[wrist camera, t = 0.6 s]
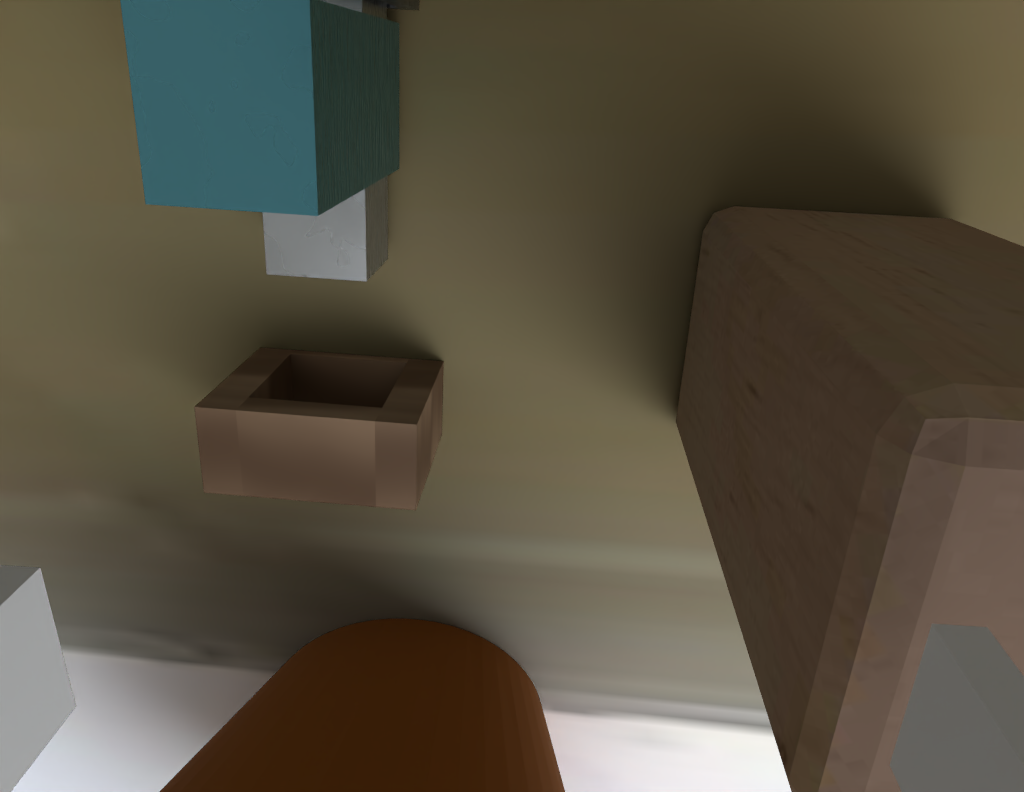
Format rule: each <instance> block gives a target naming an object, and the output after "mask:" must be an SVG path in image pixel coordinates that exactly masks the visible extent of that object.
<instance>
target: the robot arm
mask: <svg viewBox="0 0 1024 792" xmlns="http://www.w3.org/2000/svg"><path fill="white" fill-rule="evenodd" d="M75 707H76V704H75V700H74V696H73V692H72V689H71V685H70V681H69V677H68V673H67V669H66V665H65V661H64V658H63V654H62V650H61V646H60V642H59V638H58V634H57V630H56V627H55V623H54V619H53V615H52V611H51V607H50V603H49V599H48V596H47V592H46V588H45V584H44V580H43V576H42V572H41V568H40V567H25V566H9V565H0V792H11V791H12V790H13V788H14V787H15V786H16V784H17V783H18V782H19V780H20V779H21V778H22V777H23V775H24V774H25V773H26V771H27V770H28V769H29V767H30V766H31V765H32V763H33V762H34V761H35V760H36V758H37V757H38V756H39V754H40V753H41V752H42V750H43V749H44V748H45V746H46V745H47V744H48V742H49V741H50V740H51V739H52V737H53V736H54V735H55V733H56V732H57V731H58V729H59V728H60V727H61V725H62V724H63V723H64V722H65V720H66V719H67V718H68V716H69V715H70V714H71V712H72V711H73V710H74V708H75ZM890 767H891V769H892V771H893V774H894V776H895V778H896V780H897V782H898V785H899V787H900V789H901V791H902V792H1024V676H1023V675H1022V673H1021V672H1020V671H1019V669H1018V668H1017V667H1016V665H1015V664H1014V663H1013V661H1012V660H1011V659H1010V657H1009V656H1008V655H1007V653H1006V652H1005V650H1004V649H1003V648H1002V646H1001V645H1000V644H999V642H998V641H997V640H996V638H995V637H994V636H993V634H992V633H991V632H990V630H989V629H988V628H987V627H977V626H961V625H945V624H932V625H931V628H930V632H929V635H928V638H927V642H926V645H925V648H924V652H923V655H922V658H921V662H920V665H919V668H918V672H917V675H916V678H915V682H914V685H913V688H912V692H911V695H910V698H909V702H908V705H907V708H906V712H905V715H904V718H903V722H902V725H901V728H900V732H899V735H898V738H897V742H896V745H895V749H894V752H893V755H892V759H891V762H890Z"/></svg>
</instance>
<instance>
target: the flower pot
mask: <svg viewBox="0 0 1024 792" xmlns="http://www.w3.org/2000/svg"><path fill="white" fill-rule="evenodd" d="M160 792H565V790H564V787H563V783H562V779H561V776H560V772H559V768H558V765H557V761H556V757H555V754H554V750H553V746H552V743H551V739H550V735H549V732H548V728H547V724H546V721H545V717H544V713H543V709H542V706H541V702H540V699H539V696H538V693H537V691H536V689H535V687H534V685H533V683H532V681H531V680H530V678H529V677H528V675H527V674H526V672H525V671H524V670H523V669H522V668H521V667H520V665H519V664H518V663H517V662H516V661H515V660H514V659H512V658H511V657H510V656H509V655H508V654H507V653H506V652H504V651H503V650H501V649H500V648H499V647H497V646H496V645H494V644H492V643H491V642H489V641H487V640H485V639H484V638H482V637H480V636H477V635H475V634H473V633H471V632H468V631H466V630H463V629H460V628H457V627H454V626H450V625H446V624H442V623H438V622H433V621H426V620H419V619H405V618H401V619H379V620H370V621H365V622H360V623H355V624H351V625H348V626H344V627H341V628H338V629H336V630H333V631H331V632H328V633H326V634H324V635H322V636H320V637H318V638H316V639H314V640H313V641H311V642H310V643H308V644H307V645H305V646H304V647H302V648H301V649H300V650H299V651H298V652H296V653H295V654H294V655H293V656H292V657H291V658H290V659H289V660H288V661H287V662H286V663H285V664H284V665H283V666H282V667H281V668H280V669H279V670H278V671H277V672H276V673H275V674H274V675H273V676H272V677H271V678H270V680H269V681H268V682H267V683H266V684H265V685H264V686H263V687H262V688H261V689H260V690H259V691H258V692H257V693H256V694H255V695H254V696H253V697H252V698H251V699H250V700H249V701H248V702H247V703H246V704H245V705H244V706H243V707H242V708H241V709H240V710H239V711H238V712H237V713H236V714H235V715H234V716H233V717H232V718H231V719H230V720H229V721H228V722H227V723H226V724H225V725H224V726H223V727H222V729H221V730H220V731H219V732H218V733H217V734H216V735H215V736H214V737H213V738H212V739H211V740H210V741H209V742H208V743H207V744H206V745H205V746H204V747H203V748H202V749H201V750H200V751H199V752H198V753H197V754H196V755H195V756H194V757H193V758H192V759H191V760H190V761H189V762H188V763H187V764H186V765H185V766H184V767H183V768H182V769H181V770H180V771H179V772H178V773H177V774H176V775H175V777H174V778H173V779H172V780H171V781H170V782H169V783H168V784H167V785H166V786H165V787H164V788H163V789H162V790H161V791H160Z"/></svg>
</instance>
